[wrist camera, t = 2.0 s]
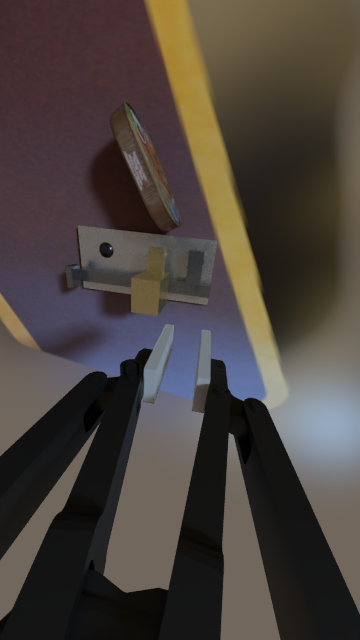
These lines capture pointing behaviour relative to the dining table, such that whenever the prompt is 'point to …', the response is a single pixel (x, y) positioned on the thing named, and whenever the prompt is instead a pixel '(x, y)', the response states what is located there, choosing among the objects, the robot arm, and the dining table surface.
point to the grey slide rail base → (176, 286)
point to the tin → (144, 167)
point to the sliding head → (151, 284)
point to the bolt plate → (142, 256)
